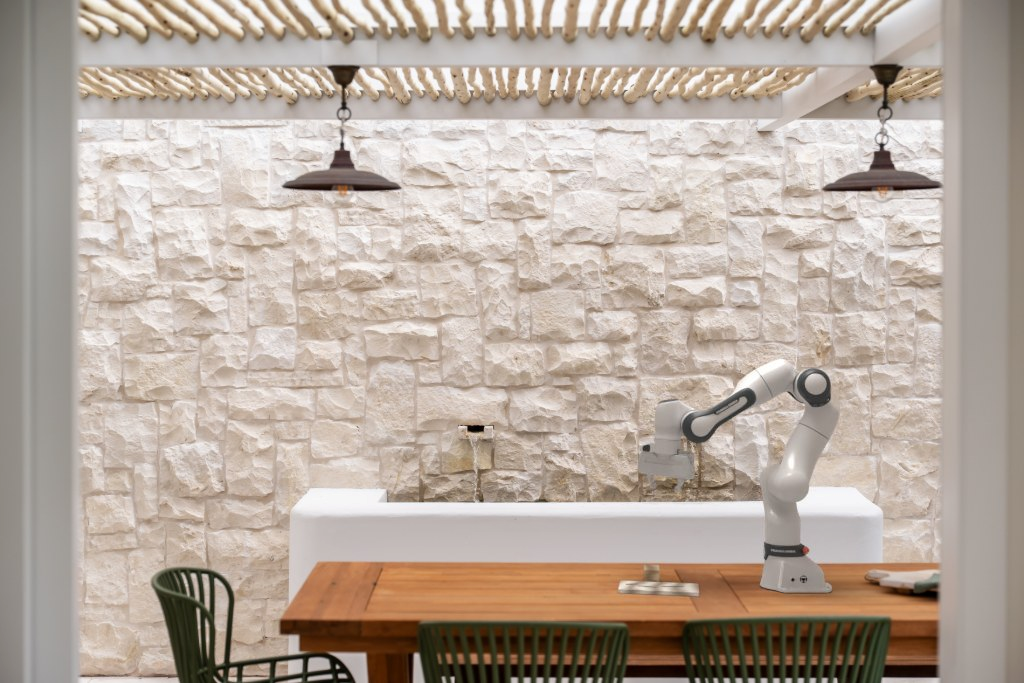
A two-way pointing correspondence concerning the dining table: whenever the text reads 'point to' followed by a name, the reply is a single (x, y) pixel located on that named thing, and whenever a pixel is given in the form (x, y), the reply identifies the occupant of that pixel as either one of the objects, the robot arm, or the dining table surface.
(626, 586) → the plank
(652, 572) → the beige brown jar
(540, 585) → the dining table surface
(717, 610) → the dining table surface
